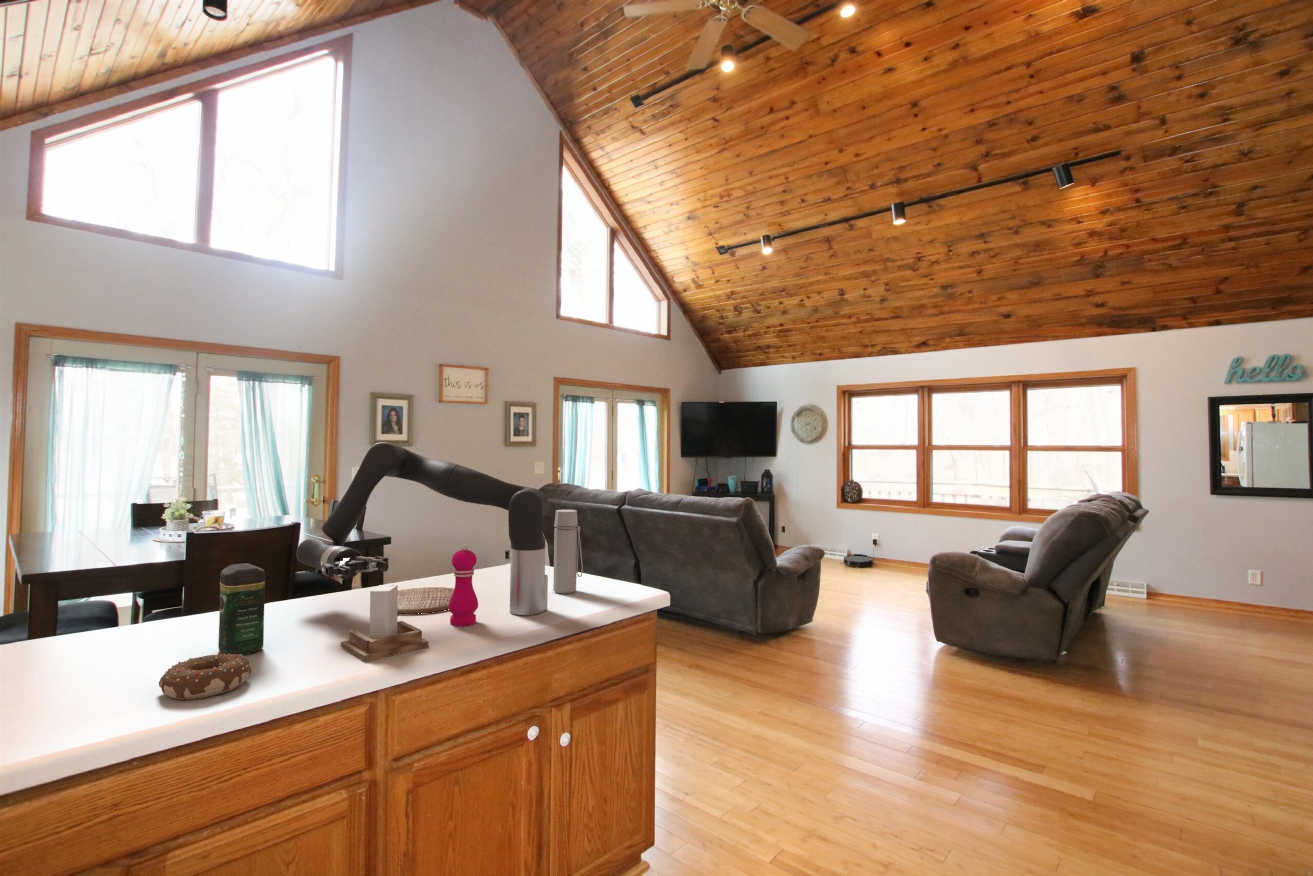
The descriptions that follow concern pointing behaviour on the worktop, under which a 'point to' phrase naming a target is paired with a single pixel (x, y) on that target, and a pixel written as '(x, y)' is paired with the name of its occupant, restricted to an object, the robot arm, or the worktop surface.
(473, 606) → the pepper mill
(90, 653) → the worktop surface
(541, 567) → the robot arm
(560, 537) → the water bottle
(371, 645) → the u rest
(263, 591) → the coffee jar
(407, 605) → the trivet
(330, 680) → the worktop surface
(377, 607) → the skincare box
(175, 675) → the donut
